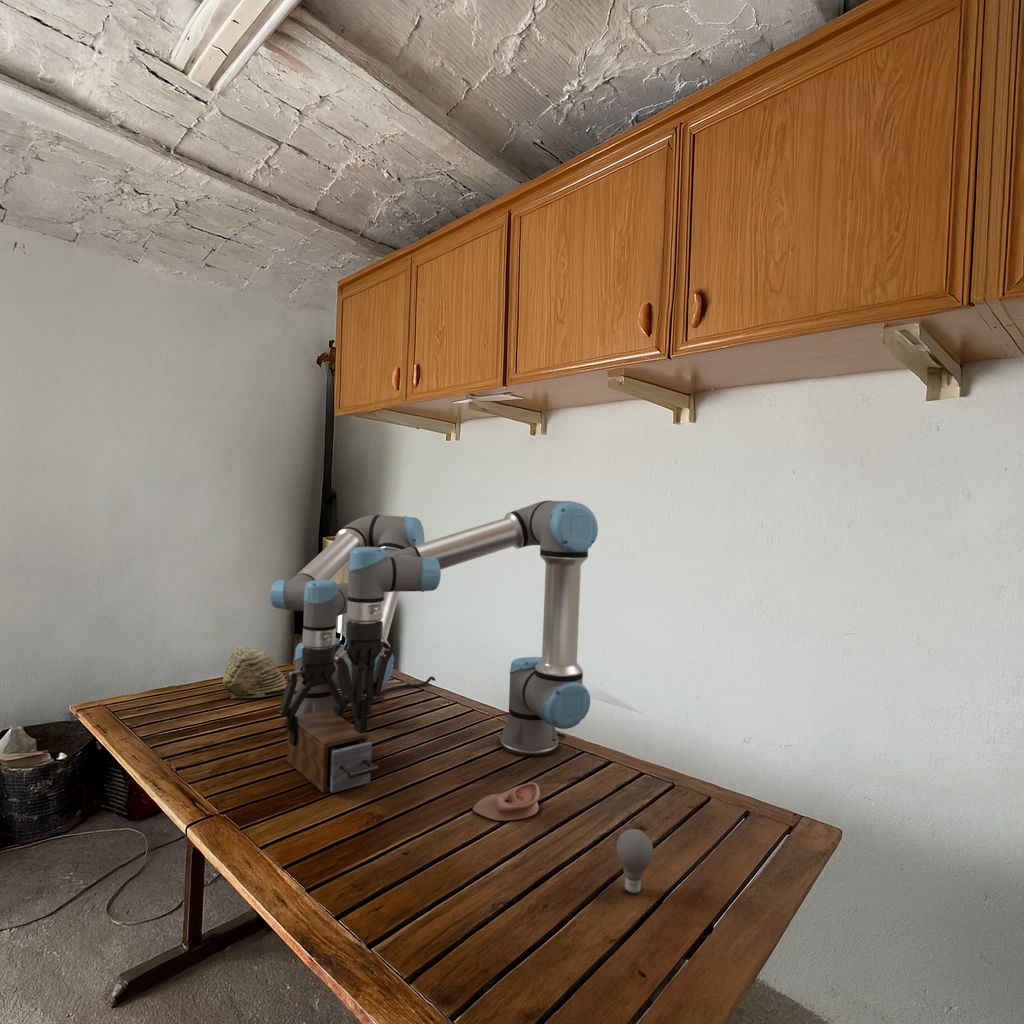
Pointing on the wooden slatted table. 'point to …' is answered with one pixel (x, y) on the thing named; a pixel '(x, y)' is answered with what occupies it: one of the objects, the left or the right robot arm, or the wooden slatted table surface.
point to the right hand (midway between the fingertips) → (360, 730)
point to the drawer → (349, 765)
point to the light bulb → (634, 857)
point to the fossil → (252, 674)
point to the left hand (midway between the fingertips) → (315, 738)
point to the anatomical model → (510, 803)
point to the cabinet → (319, 744)
